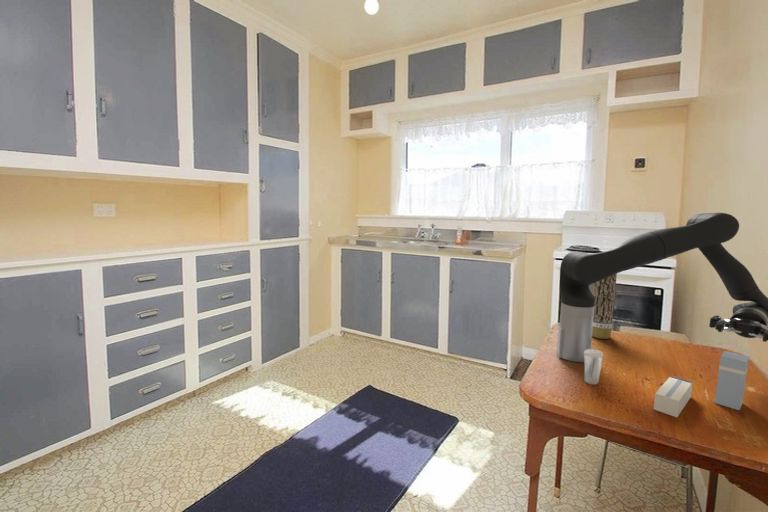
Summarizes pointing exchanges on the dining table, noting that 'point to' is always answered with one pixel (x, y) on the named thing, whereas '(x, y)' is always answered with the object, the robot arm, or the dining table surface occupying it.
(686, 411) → the dining table surface
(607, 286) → the paper tube
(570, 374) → the dining table surface
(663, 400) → the white striped box
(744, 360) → the tall grey box
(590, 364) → the milkshake
